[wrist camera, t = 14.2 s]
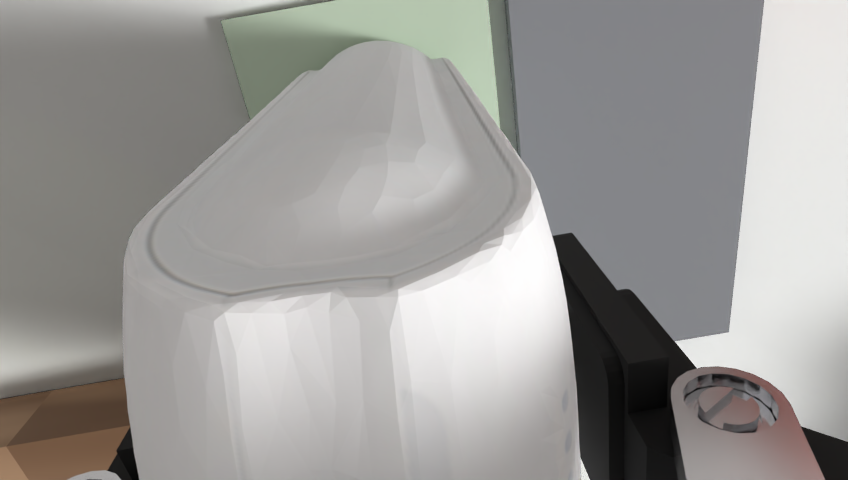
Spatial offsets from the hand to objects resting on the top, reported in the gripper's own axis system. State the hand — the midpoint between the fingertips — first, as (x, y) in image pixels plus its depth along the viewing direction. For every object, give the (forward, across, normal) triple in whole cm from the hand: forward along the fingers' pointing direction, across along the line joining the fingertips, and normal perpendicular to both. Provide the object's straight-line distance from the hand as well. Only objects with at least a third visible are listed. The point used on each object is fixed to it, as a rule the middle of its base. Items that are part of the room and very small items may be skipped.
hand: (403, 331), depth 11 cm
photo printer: (+6, 0, 0) cm, 6 cm away
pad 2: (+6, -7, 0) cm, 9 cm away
